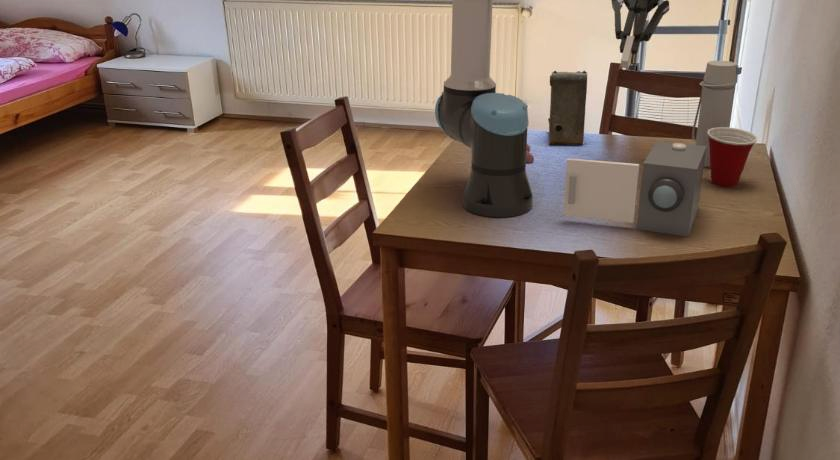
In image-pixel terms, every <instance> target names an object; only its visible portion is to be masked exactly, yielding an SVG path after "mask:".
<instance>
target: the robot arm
mask: <svg viewBox="0 0 840 460" xmlns="http://www.w3.org/2000/svg"><path fill="white" fill-rule="evenodd" d="M623 4H624V5H625V7H626V8H627V10H628V12H627V16H626V19H625V23H624V26H623V29H622V16H621V14H622V13H621V9H622V8H623ZM451 6H452V11H451V13H452V14H451V47H450V48H451V51H450V52H451V54H450V75H449V76H448V78H447V79H445V81H444V82H443V91H442V92H441V95H440V96H438V98H437V100H436V102H435V105H434V106H435V109H434V116H435V121H436V123H437V125H438V127H439V128H440V129H441V130H442V132H443V133H445V134H446V135H447V136H448V137H449V138H450V139H452V140H454V141H456V142H458V143H461V144H463V145H465V146H467V147H469V148H470V149H471V166H470V167H471V169H470V174H469V176H468V179H467V181H466V184H465V185H466V186H465V188H464V190H463V195H462V206H463V208H464V209H465V210H466V211H468V212H470V213H473V214H475V215H479V216H483V217H489V218H506V217H507V218H509V217H515V216H519V215H523V214H525V213H528V212H529V211H530V210H531V209H532V207H533V198H534V197H533V192H532V190H531V189H532V188H531V185H530V182H529V179H528V176H527V173H526V171H527V170H526V169H527V164H526V163H527V162H526V149H527V144H528V143H527V142H528V127H529V114H528V113H529V112H528V107H527V104H526V103H525V102H524V100H522V99H520V98H519V97H517V96H515V95H511V94H505V93H501V92H496V90H497V89H496V87H497V86H496V85H497V83H496V82H495V80H493V79H492V77H491V76H490V70H491V69H490V68H491V49H492V47H491V46H492V44H491V43H492V23H493V0H452V5H451ZM611 7H612V9H613V12H614V33H615V35H614V36H615V39H616V40H620V45H619V53H620V54H621V58H620V63H621V69H629V68H630V64H631V60H632V58H633V57H632V56H633V55H636V54H638V52H639V47H640V44H641V43H642V42H649V41H650V40H651V38H652V36H653V34H654V32H655V31H656V29H657V27H658V25H659V24H660V22H661V20H662V19H663V17H664V16H665V15H666V14H667V13H668V12H669V11H670V1H669V0H611ZM655 8H656V9H655ZM654 9H655V12H654V13H653V15H652V17H651V18H650V20H649V22H648V23H647V22H646V21H647V19H648V15H649V13H650V12H651V11H652V10H654ZM637 14H639V15H638V19H637V24H636V28H635V31H634V35H631V33H632V29H633V26H634V22H635V19H636V17H637ZM646 23H647V25H646ZM645 26H646V27H645Z"/></svg>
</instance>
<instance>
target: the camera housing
mask: <svg viewBox="0 0 840 460" xmlns="http://www.w3.org/2000/svg"><path fill="white" fill-rule="evenodd" d="M706 148H707V146H702V145H695V144H692V143H691V144H690V143H683V142H682V143H681V142H673V141H672V142H671V141H662V140H656V142H655V144H654V145H653V146H652V148H651V150H650V152H649V153H648V154H647V156H646V158H645V160H644V161H643V164H642V168H641V173H640V174H641V175H640V185H639V192H638V193H639V194H638V204H637V205H638V206H637V213H636V216H637V219H636V220H637V222H636V230H641V231H647V232H655V233H660V234H668V235H674V236H682V237H687V238H688V237H689V236H690V233H691V230H692V228H693V225H694V222H695V219H696V217H697V214H698V211H699V205H700V198H701V192H702V191H701V190H702V185H703V184H702V183H703V175H704V170H705V169H704V168H705V167H704V162H705V155H706Z"/></svg>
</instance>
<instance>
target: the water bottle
mask: <svg viewBox="0 0 840 460" xmlns="http://www.w3.org/2000/svg"><path fill="white" fill-rule="evenodd" d="M737 65H738V64H737V63H736V62H734V61H730V60H729V61H728V60H710V61H707V64H706V67H705V71H704V76H703V80H702V81H701V82H700V83H699V85H700V86H701V92H700V96H699V101H698V105H697V109H696V113H695V118H694V120H693V121H694V122H693V126H692V129H691V131H692V133H691V141H693V142H695V144H694V145H702V146H707V148H706V155H705V162H704V168H706V169H710V146H709V137H708V135H707V132H708V130H709V129H711V128H717V127H729V128H730V122H731V116H732V108H733V102H734V96H735V95H734V94H735V89H736V88H735V87H734V86H736V84H737ZM696 125H697V129H696ZM695 131H696V137H695Z"/></svg>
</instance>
